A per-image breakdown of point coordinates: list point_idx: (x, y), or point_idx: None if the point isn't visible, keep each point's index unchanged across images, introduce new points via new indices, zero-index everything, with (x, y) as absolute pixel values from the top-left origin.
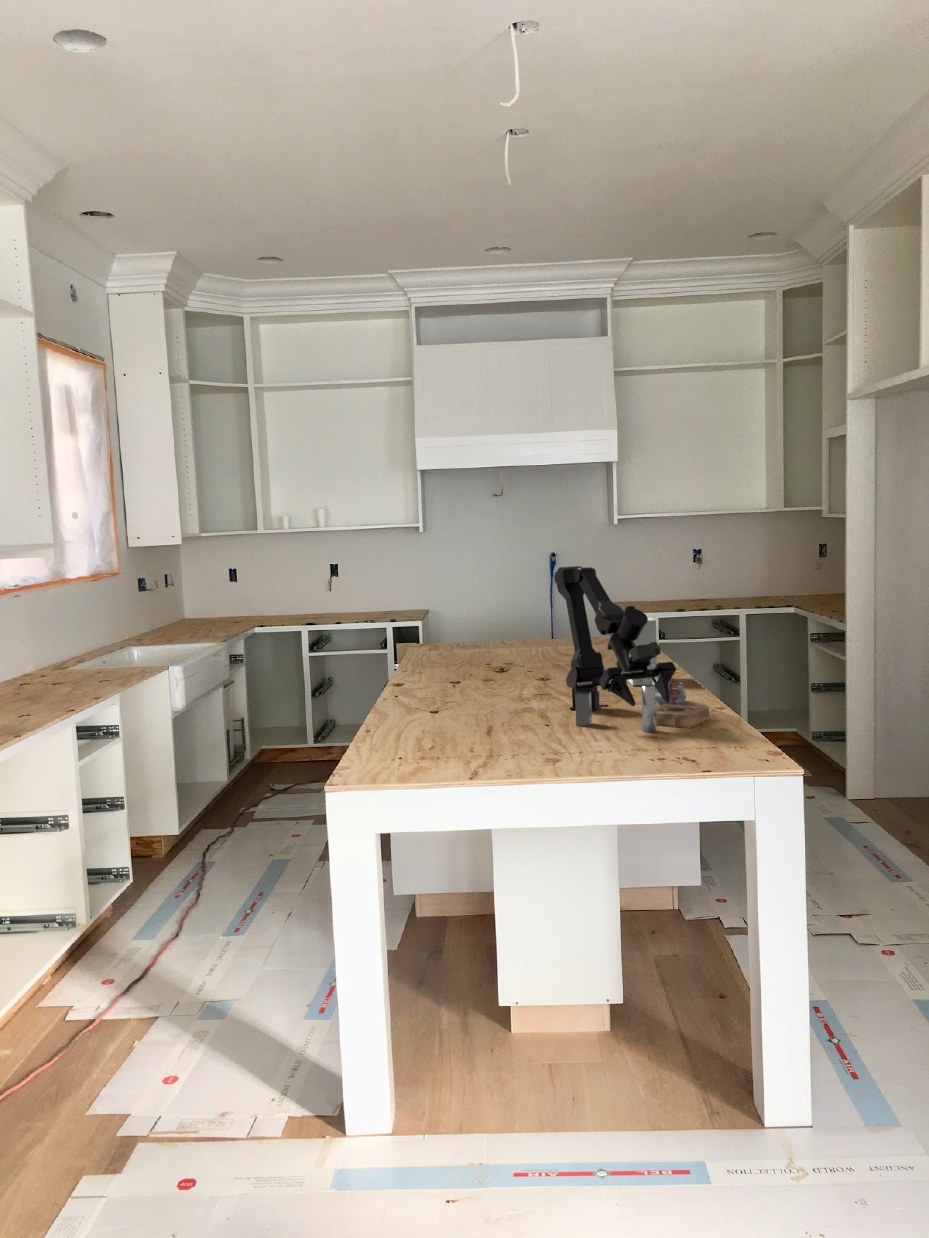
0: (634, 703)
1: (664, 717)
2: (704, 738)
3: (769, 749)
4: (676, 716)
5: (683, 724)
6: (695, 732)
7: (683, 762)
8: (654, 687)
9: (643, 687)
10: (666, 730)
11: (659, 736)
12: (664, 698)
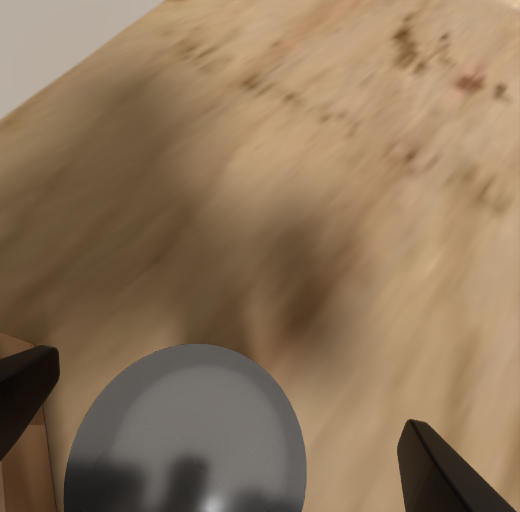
0: (421, 421)
1: (23, 509)
2: (168, 170)
3: (158, 5)
4: None
5: None
6: (98, 260)
7: (433, 38)
8: (162, 353)
9: (304, 455)
10: None
11: (274, 305)
12: (26, 413)
